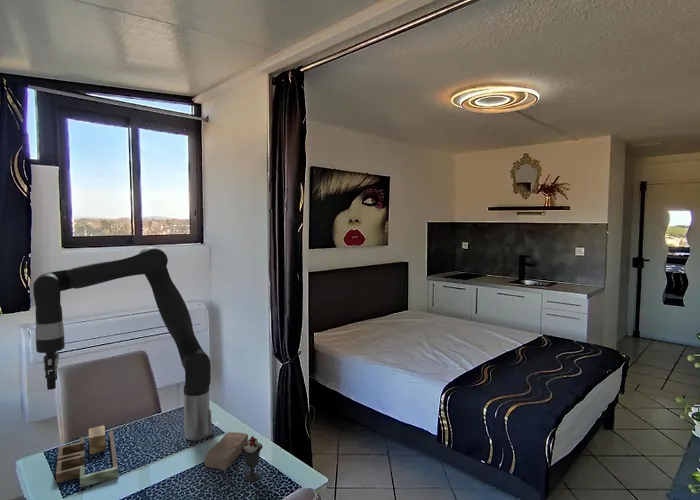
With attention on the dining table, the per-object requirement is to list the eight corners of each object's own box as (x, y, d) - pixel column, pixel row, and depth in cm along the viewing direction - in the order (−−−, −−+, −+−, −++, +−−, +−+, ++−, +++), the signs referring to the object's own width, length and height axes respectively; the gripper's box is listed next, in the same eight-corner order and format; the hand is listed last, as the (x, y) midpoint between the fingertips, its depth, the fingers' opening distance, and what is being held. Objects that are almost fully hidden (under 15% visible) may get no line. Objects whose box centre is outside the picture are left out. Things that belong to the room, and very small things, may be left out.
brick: (226, 471, 142) (226, 457, 142) (203, 467, 144) (203, 454, 144) (249, 445, 158) (248, 433, 158) (228, 442, 160) (228, 430, 160)
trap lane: (113, 437, 162) (112, 430, 162) (118, 477, 138) (118, 468, 137) (59, 450, 153) (59, 442, 153) (55, 494, 129) (54, 485, 129)
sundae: (252, 486, 134) (251, 440, 132) (237, 479, 137) (236, 434, 136) (267, 475, 139) (266, 431, 138) (252, 469, 143) (251, 425, 142)
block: (104, 440, 160) (104, 425, 160) (105, 450, 153) (105, 434, 153) (89, 444, 157) (88, 428, 157) (89, 454, 151) (88, 438, 150)
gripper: (63, 339, 133) (65, 389, 135) (64, 329, 145) (66, 375, 147) (33, 343, 129) (36, 394, 131) (37, 332, 141) (40, 379, 143)
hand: (52, 384), depth 139 cm, fingers open, 8 cm apart
